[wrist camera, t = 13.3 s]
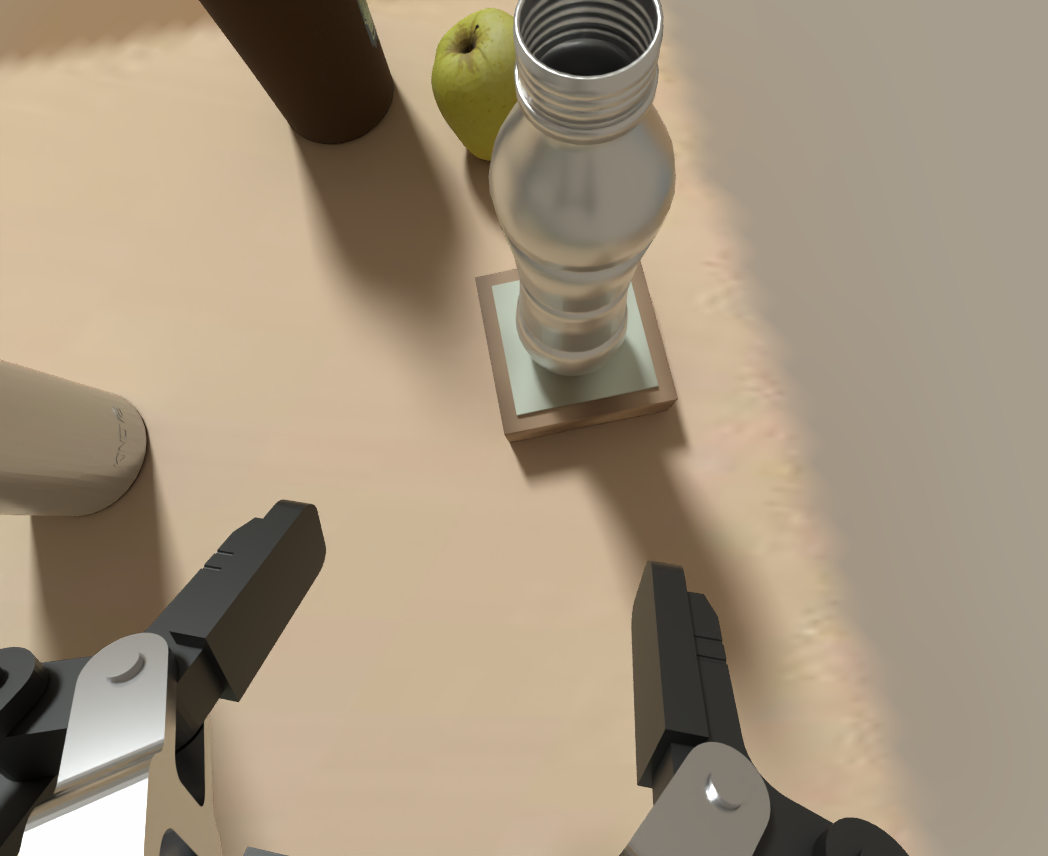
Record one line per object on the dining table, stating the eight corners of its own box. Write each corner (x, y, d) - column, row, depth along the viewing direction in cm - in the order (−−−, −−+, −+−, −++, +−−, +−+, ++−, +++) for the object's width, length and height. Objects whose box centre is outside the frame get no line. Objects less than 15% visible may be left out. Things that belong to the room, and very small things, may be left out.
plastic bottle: (570, 270, 32) (586, -129, 13) (644, 339, 31) (789, 13, 11) (498, 334, 32) (397, 21, 12) (570, 407, 30) (587, 189, 11)
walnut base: (509, 442, 33) (503, 433, 30) (482, 298, 36) (474, 275, 33) (667, 410, 33) (678, 397, 30) (629, 266, 35) (636, 240, 32)
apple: (577, 103, 37) (549, -4, 28) (516, 194, 39) (470, 123, 29) (500, 54, 39) (448, -63, 29) (444, 143, 40) (377, 60, 31)
